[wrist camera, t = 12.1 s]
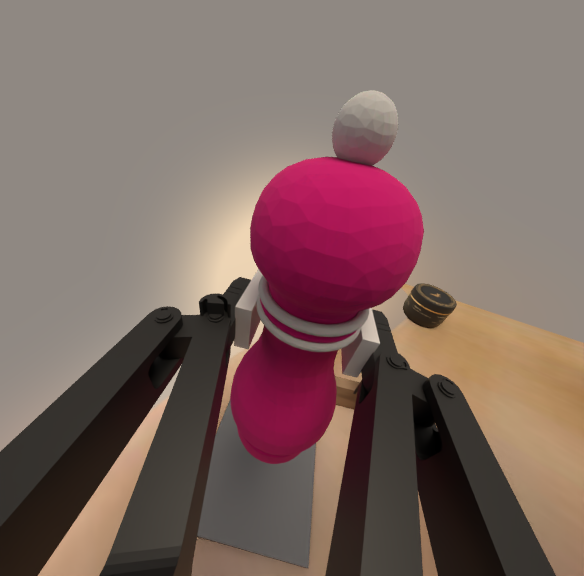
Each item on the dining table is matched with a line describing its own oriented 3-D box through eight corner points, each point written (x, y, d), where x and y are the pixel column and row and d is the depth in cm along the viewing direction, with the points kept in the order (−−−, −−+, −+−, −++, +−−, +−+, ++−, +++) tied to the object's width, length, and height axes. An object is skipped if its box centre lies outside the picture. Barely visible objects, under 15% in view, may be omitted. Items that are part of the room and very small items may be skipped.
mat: (316, 420, 30) (317, 419, 30) (307, 568, 20) (308, 568, 19) (231, 397, 30) (231, 396, 30) (177, 530, 20) (176, 530, 20)
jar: (445, 322, 55) (464, 301, 51) (428, 335, 50) (448, 312, 45) (411, 300, 61) (425, 279, 57) (393, 309, 56) (407, 287, 51)
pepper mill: (234, 491, 13) (277, -106, 1) (227, 383, 18) (223, 70, 7) (332, 454, 16) (638, 127, 4) (301, 369, 21) (391, 122, 9)
